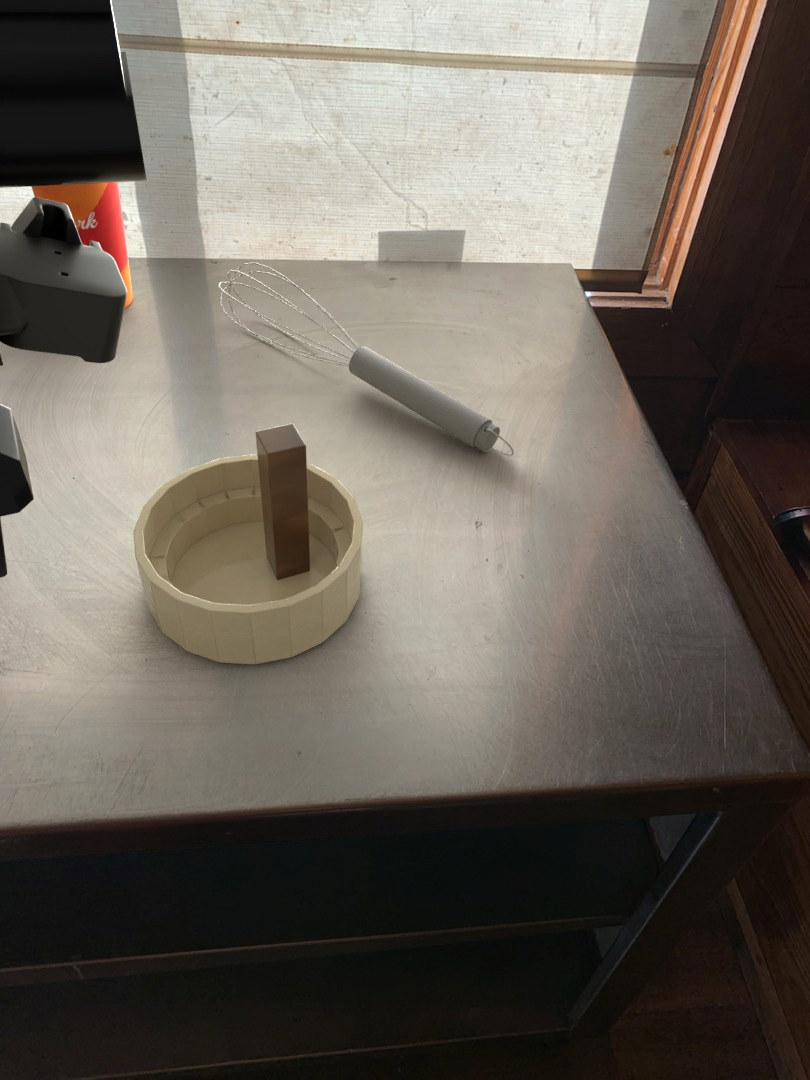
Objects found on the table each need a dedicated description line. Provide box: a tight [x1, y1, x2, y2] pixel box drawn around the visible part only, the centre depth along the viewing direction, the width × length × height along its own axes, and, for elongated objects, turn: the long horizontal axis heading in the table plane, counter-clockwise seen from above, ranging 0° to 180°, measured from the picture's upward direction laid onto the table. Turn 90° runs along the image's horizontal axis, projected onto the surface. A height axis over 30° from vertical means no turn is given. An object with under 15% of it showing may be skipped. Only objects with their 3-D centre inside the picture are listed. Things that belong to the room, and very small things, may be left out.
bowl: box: [133, 454, 364, 665], centre depth 52 cm, size 14×14×6 cm
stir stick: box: [255, 423, 310, 580], centre depth 51 cm, size 2×2×11 cm
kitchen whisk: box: [218, 262, 515, 457], centre depth 70 cm, size 6×34×6 cm, turn 51°
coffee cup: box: [30, 182, 133, 310], centre depth 74 cm, size 8×8×15 cm
